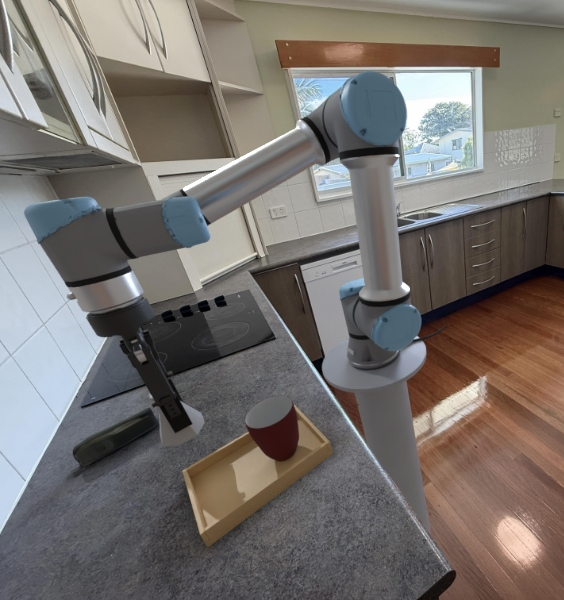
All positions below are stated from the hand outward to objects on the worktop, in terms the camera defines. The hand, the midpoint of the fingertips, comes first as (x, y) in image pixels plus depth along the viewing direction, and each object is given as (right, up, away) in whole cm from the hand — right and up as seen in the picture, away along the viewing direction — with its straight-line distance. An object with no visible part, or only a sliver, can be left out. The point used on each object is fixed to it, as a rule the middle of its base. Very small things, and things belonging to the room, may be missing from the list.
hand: (180, 418), depth 57 cm
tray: (+15, -9, 0) cm, 17 cm away
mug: (+18, -7, +2) cm, 19 cm away
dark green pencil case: (-20, -10, +10) cm, 25 cm away
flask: (0, -3, +1) cm, 3 cm away
